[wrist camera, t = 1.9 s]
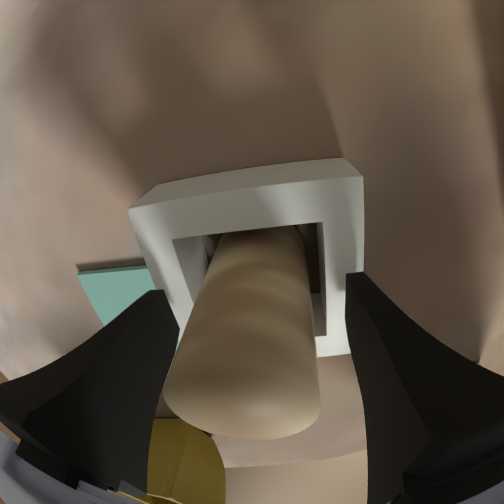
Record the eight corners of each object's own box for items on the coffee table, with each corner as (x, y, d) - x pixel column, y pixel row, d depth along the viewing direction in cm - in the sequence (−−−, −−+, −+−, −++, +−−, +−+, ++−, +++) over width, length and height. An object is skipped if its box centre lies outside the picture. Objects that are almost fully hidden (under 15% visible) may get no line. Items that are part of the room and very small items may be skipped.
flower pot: (122, 406, 24) (93, 479, 16) (191, 404, 21) (166, 499, 13) (172, 444, 27) (156, 507, 19) (238, 443, 25) (227, 519, 17)
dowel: (300, 207, 12) (321, 359, 5) (307, 284, 14) (319, 437, 7) (210, 218, 13) (137, 361, 6) (228, 290, 15) (192, 436, 8)
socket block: (343, 157, 11) (363, 176, 8) (346, 310, 15) (356, 352, 12) (158, 184, 12) (126, 209, 10) (202, 321, 16) (189, 361, 13)
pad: (163, 263, 14) (160, 267, 14) (195, 345, 17) (194, 349, 17) (80, 271, 15) (76, 275, 15) (118, 342, 18) (116, 346, 18)
